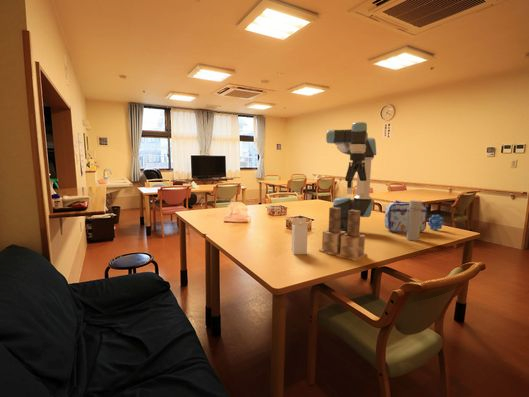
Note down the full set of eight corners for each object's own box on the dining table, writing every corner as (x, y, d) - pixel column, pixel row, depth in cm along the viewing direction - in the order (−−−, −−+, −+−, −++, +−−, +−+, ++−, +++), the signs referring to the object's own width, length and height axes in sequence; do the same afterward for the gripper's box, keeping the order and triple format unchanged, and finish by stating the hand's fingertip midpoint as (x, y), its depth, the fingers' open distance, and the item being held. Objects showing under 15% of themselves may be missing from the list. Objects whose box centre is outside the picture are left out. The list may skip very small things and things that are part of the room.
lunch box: (386, 233, 196) (388, 201, 193) (381, 229, 206) (383, 199, 203) (427, 233, 195) (430, 202, 192) (419, 230, 206) (422, 199, 203)
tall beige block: (418, 238, 183) (421, 200, 180) (420, 241, 176) (423, 202, 172) (402, 237, 186) (405, 199, 183) (403, 240, 179) (407, 201, 175)
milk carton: (291, 250, 158) (292, 216, 155) (304, 250, 159) (304, 216, 156) (293, 254, 151) (294, 219, 148) (306, 254, 152) (308, 219, 149)
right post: (345, 253, 150) (347, 210, 147) (349, 251, 153) (352, 209, 150) (354, 255, 147) (356, 211, 143) (358, 253, 150) (361, 210, 147)
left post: (327, 248, 157) (328, 207, 154) (331, 246, 161) (333, 206, 157) (335, 250, 154) (337, 209, 151) (339, 248, 157) (341, 207, 154)
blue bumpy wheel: (446, 231, 201) (448, 215, 199) (440, 232, 198) (442, 215, 196) (431, 228, 211) (433, 212, 210) (425, 228, 209) (426, 212, 207)
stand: (319, 251, 157) (319, 231, 155) (330, 246, 166) (330, 228, 164) (356, 261, 142) (358, 240, 140) (366, 255, 151) (368, 235, 149)
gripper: (353, 151, 137) (351, 195, 139) (374, 153, 155) (371, 192, 157) (339, 152, 142) (337, 194, 144) (361, 154, 160) (358, 191, 162)
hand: (355, 193), depth 151 cm, fingers open, 13 cm apart
